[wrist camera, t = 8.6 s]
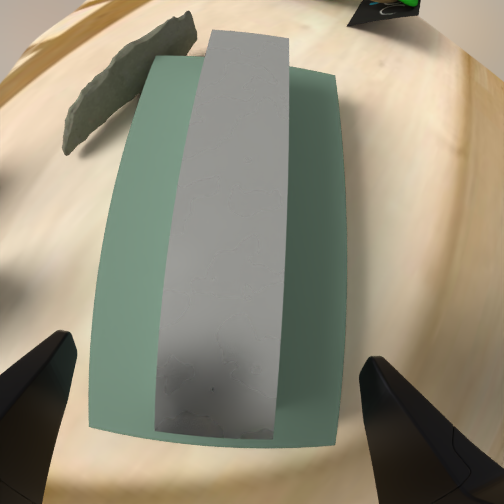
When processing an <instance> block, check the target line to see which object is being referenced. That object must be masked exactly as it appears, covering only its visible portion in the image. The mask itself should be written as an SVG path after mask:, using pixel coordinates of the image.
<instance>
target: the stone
mask: <svg viewBox="0 0 504 504" xmlns="http://www.w3.org/2000/svg"><path fill="white" fill-rule="evenodd" d="M196 41H197V31H196V29H195V25H194V21H193V18H192V15H191V12H190V11H187V12H185V14H184V15H183V16H181V17H179V18H175V17H172V18H171V19H169V20H167V21H166V22H165V23H163V24H162V25H160V26H158V27H157V28H155V29H154V30H153V31H151V32H150V33H148V34H147V35H145V36H143V37H142V38H140V39H138V40H136V41H133V42H130V43H129V44H127V45H126V46H124V48H123V49H122V50H121V51H119V52H118V54H117V55H116V56H115V57H113V58H112V61H111V63H110V65H109V66H108V67H107V68H106V69H105V70H104V71H103V72H101V73H100V74H98V75H97V76H95V77H94V79H93V80H92V81H91V82H90V83H88V84H87V86H86V87H85V88H84V89H83V90H81V93H80V95H79V97H78V99H77V100H76V102H75V103H74V104H73V105H72V106H71V107H70V108H69V110H68V114H67V117H66V119H65V129H64V135H63V145H62V149H63V152H64V154H65V155H66V156H67V155H69V154H70V153H71V152H72V151H73V150H74V149H75V148H76V147H77V145H79V144H80V143H81V142H83V141H85V140H86V139H87V137H88V136H89V134H90V133H92V132H93V131H94V130H96V129H97V128H98V127H99V126H101V125H102V124H103V123H105V122H106V120H107V119H108V118H109V117H110V116H111V115H112V114H113V113H114V112H116V111H117V110H118V109H119V108H121V107H122V106H123V105H125V104H126V103H127V102H128V101H131V100H132V99H133V98H134V97H135V96H136V95H137V94H138V93H142V91H143V88H144V85H145V82H146V80H147V77H148V74H149V72H150V69H151V66H152V64H153V61H154V59H155V56H186V55H187V54H188V52H189V50H190V49H191V47H192V46H193V44H194V43H195V42H196Z"/></svg>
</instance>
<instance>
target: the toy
mask: <svg viewBox="0 0 504 504" xmlns="http://www.w3.org/2000/svg"><path fill="white" fill-rule="evenodd" d="M420 1H421V0H363V1H362V2H361V4H360V6H359V7H358V9H357V10H356V12H355V14H354V15H353V17H352V19H351V20H350V22H349V23H348V25H347V26H351V25H356V24H362V23H367V22H373V21H379V20H385V19H392V18H400V17H408V16H417V15H418V14H419V8H420Z"/></svg>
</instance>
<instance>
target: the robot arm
mask: <svg viewBox="0 0 504 504" xmlns="http://www.w3.org/2000/svg"><path fill="white" fill-rule="evenodd" d="M76 359H77V349H76V346H75V343H74V340H73V337H72V334H71V333H70V332H68V331H63V330H57V331H56V332H54V333H53V334H52V335H50V336H49V337H48V338H47V339H45V340H44V341H43V342H41V343H40V344H39V345H37V346H36V347H35V348H34V349H32V350H31V351H30V352H28V353H27V354H26V355H25V356H23V357H22V358H21V359H20V360H18V361H17V362H16V363H15V364H13V365H12V366H11V367H10V368H8V369H7V370H6V371H5V372H3V373H2V374H1V375H0V504H42V501H43V496H44V490H45V485H46V481H47V476H48V472H49V467H50V463H51V459H52V455H53V451H54V447H55V443H56V439H57V435H58V432H59V428H60V425H61V421H62V418H63V414H64V411H65V408H66V404H67V401H68V397H69V392H70V387H71V382H72V377H73V373H74V368H75V364H76ZM359 383H360V392H361V402H362V412H363V420H364V426H365V431H366V435H367V440H368V445H369V450H370V455H371V461H372V466H373V471H374V477H375V483H376V488H377V494H378V500H379V504H504V468H502V467H501V466H500V465H499V464H497V463H496V462H495V461H494V460H492V459H491V458H490V457H489V456H487V455H486V454H485V453H484V452H482V451H481V450H480V449H479V448H478V447H476V446H475V445H474V444H473V443H472V442H470V441H469V440H468V439H467V438H466V437H465V436H464V435H463V434H462V433H461V432H460V431H459V430H458V429H457V428H456V427H455V426H453V424H452V423H451V422H450V421H449V420H447V419H446V418H445V417H444V416H443V415H442V414H441V413H440V412H439V411H438V410H437V409H436V408H435V407H434V406H433V405H432V404H431V403H430V402H429V401H428V400H427V399H426V398H425V397H424V396H423V395H422V394H421V393H420V392H419V391H418V390H417V389H416V388H415V387H414V386H412V385H411V384H410V383H409V382H408V381H407V380H406V379H405V378H404V377H403V376H402V375H401V374H400V373H399V372H398V371H397V370H396V369H395V368H394V367H393V366H392V365H391V364H390V363H389V362H388V361H386V360H385V359H384V358H383V357H382V356H371V357H369V358H368V359H367V361H366V363H365V365H364V366H363V368H362V370H361V372H360V375H359Z"/></svg>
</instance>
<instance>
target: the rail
mask: <svg viewBox="0 0 504 504" xmlns="http://www.w3.org/2000/svg"><path fill="white" fill-rule="evenodd" d="M288 153H289V38H283V37H276V36H269V35H262V34H254V33H245V32H235V31H223V30H212V32H211V36H210V40H209V43H208V47H207V51H206V55H205V58H204V62H203V66H202V70H201V74H200V78H199V83H198V87H197V91H196V95H195V100H194V104H193V109H192V113H191V118H190V122H189V127H188V132H187V137H186V142H185V147H184V152H183V158H182V163H181V168H180V174H179V180H178V185H177V191H176V197H175V204H174V210H173V217H172V223H171V230H170V237H169V245H168V252H167V260H166V268H165V277H164V286H163V295H162V305H161V316H160V328H159V340H158V354H157V371H156V391H155V423H154V431H158V432H165V433H173V434H181V435H190V436H201V437H214V438H230V439H263V440H273V434H274V423H275V411H276V399H277V386H278V372H279V358H280V343H281V327H282V311H283V292H284V272H285V250H286V225H287V195H288Z"/></svg>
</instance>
